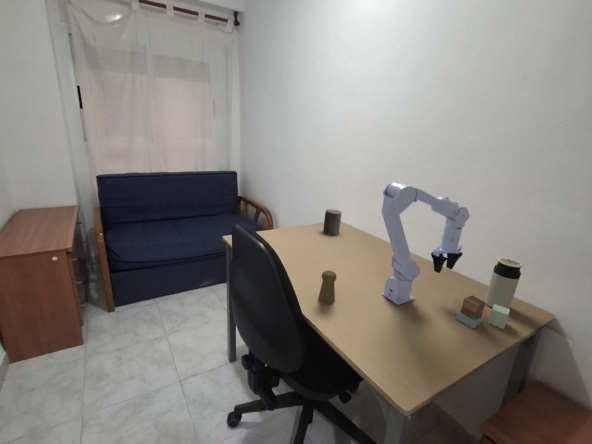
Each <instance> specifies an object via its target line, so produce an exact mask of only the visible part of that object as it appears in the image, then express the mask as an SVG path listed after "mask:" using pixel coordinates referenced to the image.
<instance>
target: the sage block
mask: <svg viewBox="0 0 592 444" xmlns="http://www.w3.org/2000/svg"><path fill="white" fill-rule="evenodd" d="M510 309H511V308H510ZM510 309H507V308H505V307H502V306H499V305H496V304H494V305H493V308H491V313H490V316H489V318H488V321H487V323H488V322H489V323H491V324H494V325H496V326H498V327H497V328H499V327H500V328H499V329H502V328H503V329H502V330H505V327H506V323H507V321H508V318H509V314H510ZM489 323H488V324H489ZM491 324H490V325H491ZM494 325H493V326H494ZM496 326H495V327H496Z"/></svg>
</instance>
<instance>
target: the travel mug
mask: <svg viewBox="0 0 592 444" xmlns="http://www.w3.org/2000/svg"><path fill="white" fill-rule="evenodd" d="M496 260H497V263H496V264H495V265H494V267H493V271H492V275H491V277H490V281H489V284H488V288H487V291H486V294H485V297H484V299H483V301H484V302H486V304H485V305H487V306H488V307H490V308H491V307H492V308H493V305H494V304H496V305H499V306H502V307H505V308H507V309H511V306H512V304H513V303H512V302H513V299H514V296H515V293H516V290H517V287H518V285H519V282H520V281H519V280H520V278H521V274H522V273H521V268H523V267H524V265H523V264H522V262H520V261H518V260H515V259H513V258H509V257H508V258H507V257H498V258H497V259H496ZM492 308H491V309H492Z"/></svg>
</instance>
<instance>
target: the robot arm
mask: <svg viewBox="0 0 592 444" xmlns="http://www.w3.org/2000/svg"><path fill="white" fill-rule="evenodd" d="M382 195H383V202H382V207H381V215H382V218H383V223H384V225H385V228H386V232H387V235H388V238H389V242H390V245H391V248H392V254H391V267H392V268H393V270H392V271H393V274H392V275H391V277H388V278H387V279H386V281H385V286H384V292H382V293H381V295H382V296H383V297H385V298H387V299H388V300H390V301H391V302H393V303H394V304H396V305H397V306H399V305H402V304H405V303H408V302H411V301H414V300H415V299H416V298H415V297H414V296H413V295H411V293H412V288H413V284H414V281H415V279H417V278H418V277H419V275H420V273H421V268H420V266H419V265H418V264H417V262H416V259H415V258H414V257H413V255H412V254H411V253H410V249H409V245H408V242H407V238H406V234H405V231H404V227H403V223H402V220H401V216H400V215H401V214H402V213H403V212H404V211H405V210H407V209H408V208H409V207H410V206H411V205H412V204H413V203H416V202H418V201H420V202H422V203H424V204H427V205H429V206H430V208H431V210H432V211H433V212H435V213H436V214H438V215H441V216H443V217H444V218H445V224H444V227H443V231H442V236H441V241H440V244H439V245H438V247H436V248H435V249H433V251H431V253H430V257H431V258H432V261H433V271H434V272H435V273H438V274H440V273H441V271H442V269H443V266H444V264H445V263H446V264H445V267H446V268H447V269H449V270H453V269H454V267H455V265H456V263H457V262H458V260H459V259H460V258H461V257H462V256H463V252H462V248H463V246H462V245H460V244H459V243H460V239H461V235H462V231H463V228H464V226H465V225H466V222H468V220H469V219H470V216H471V215H470V211H469V209H468V208H467V207H465V206H462V205H459V202H457V201H452V200H450V197H448V196H445V195H443V196H436V197H435V196H434V195H431V194H430V193H428V192H426V191H425V190H423V189H421V188H418V187H415V186H412V185H409V184H404V183H400V182H398V181H391V182H389V183H388V184H387V186H386V187H385V188H384V190H383V191H382ZM445 254H446V256H445Z"/></svg>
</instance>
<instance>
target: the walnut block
mask: <svg viewBox="0 0 592 444" xmlns="http://www.w3.org/2000/svg"><path fill="white" fill-rule="evenodd" d="M486 305H487V304H486V302H484V300H482V299H481V298H478V297H476V296H475V295H470V296H467V297H464V298H463V302H462V306H461V309H460V310H461V313H463V314H464V315H466V316H468V317H469V318H471V319H473V320H474V319H477V318H480V317H482V315H483V314H484V313H483V312H484V309H485V307H486Z"/></svg>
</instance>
